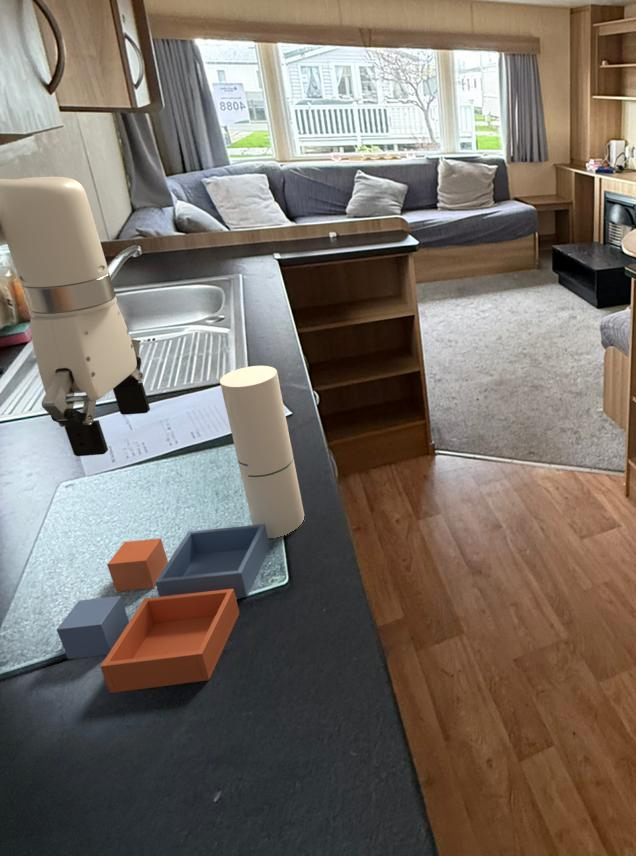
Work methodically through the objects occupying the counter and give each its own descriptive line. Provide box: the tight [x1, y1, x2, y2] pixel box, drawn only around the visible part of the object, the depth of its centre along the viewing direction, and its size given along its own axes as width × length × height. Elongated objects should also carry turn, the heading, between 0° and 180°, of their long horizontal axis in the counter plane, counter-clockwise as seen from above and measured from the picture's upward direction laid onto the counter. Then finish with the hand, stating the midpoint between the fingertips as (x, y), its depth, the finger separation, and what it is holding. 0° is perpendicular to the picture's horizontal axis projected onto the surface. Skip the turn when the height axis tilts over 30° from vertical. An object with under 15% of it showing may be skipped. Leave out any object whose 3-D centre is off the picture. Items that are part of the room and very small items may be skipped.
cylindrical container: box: [219, 365, 305, 539], centre depth 95 cm, size 7×7×25 cm
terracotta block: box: [107, 537, 169, 593], centre depth 88 cm, size 5×5×5 cm
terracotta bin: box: [99, 589, 240, 694], centre depth 77 cm, size 10×10×4 cm
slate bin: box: [155, 524, 271, 599], centre depth 89 cm, size 10×10×4 cm
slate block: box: [56, 595, 130, 660], centre depth 78 cm, size 5×5×5 cm
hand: (115, 432), depth 77 cm, fingers open, 9 cm apart
